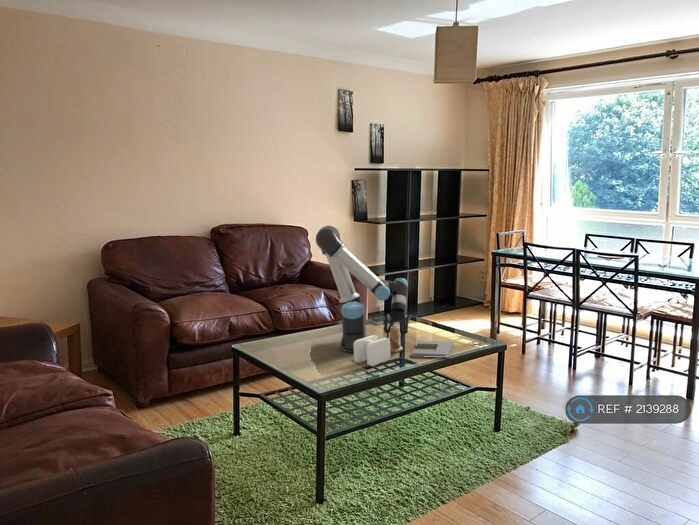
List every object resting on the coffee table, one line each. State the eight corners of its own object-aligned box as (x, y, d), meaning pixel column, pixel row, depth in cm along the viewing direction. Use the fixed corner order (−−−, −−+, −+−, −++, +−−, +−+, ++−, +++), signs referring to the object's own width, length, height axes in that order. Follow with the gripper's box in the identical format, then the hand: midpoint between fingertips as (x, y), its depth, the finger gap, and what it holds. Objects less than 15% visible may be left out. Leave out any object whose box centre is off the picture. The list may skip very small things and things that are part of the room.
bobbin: (387, 351, 292) (386, 328, 290) (390, 347, 299) (389, 325, 297) (401, 352, 291) (400, 329, 289) (403, 347, 297) (402, 325, 295)
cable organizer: (368, 368, 270) (367, 344, 268) (353, 363, 278) (352, 340, 276) (391, 360, 280) (390, 337, 278) (376, 355, 288) (375, 333, 286)
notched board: (412, 357, 283) (411, 353, 282) (418, 344, 302) (417, 340, 301) (449, 358, 278) (449, 354, 278) (452, 345, 297) (452, 341, 297)
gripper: (416, 309, 304) (412, 349, 291) (383, 308, 309) (378, 347, 296) (414, 301, 298) (410, 342, 285) (381, 301, 303) (375, 341, 290)
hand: (394, 344), depth 291 cm, fingers closed on bobbin, 4 cm apart
